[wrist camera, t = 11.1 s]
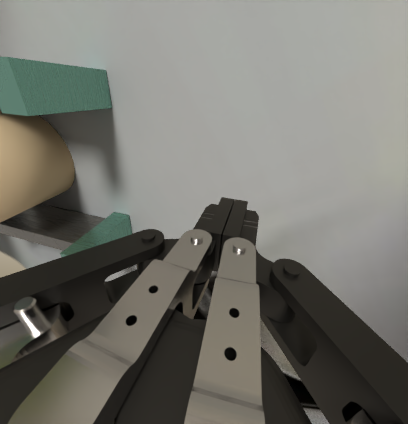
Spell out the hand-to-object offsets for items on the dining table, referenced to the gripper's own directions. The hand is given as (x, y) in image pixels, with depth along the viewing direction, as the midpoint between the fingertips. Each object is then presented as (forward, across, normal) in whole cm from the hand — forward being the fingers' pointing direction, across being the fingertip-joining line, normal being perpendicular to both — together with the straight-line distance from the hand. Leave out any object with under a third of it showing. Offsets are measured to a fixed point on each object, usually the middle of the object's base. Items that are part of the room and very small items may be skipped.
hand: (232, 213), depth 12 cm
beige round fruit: (+3, +18, 0) cm, 19 cm away
